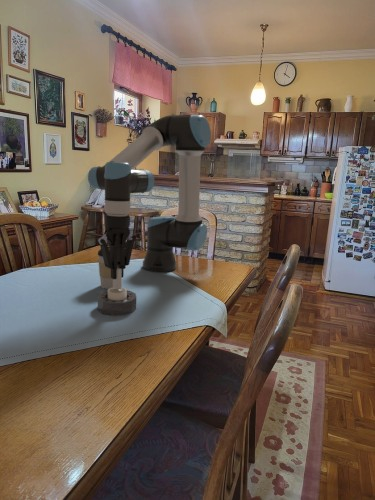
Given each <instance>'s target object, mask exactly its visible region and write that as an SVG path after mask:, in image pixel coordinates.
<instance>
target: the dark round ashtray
mask: <svg viewBox="0 0 375 500" xmlns="http://www.w3.org/2000/svg"><path fill="white" fill-rule="evenodd" d="M135 310H137V293H136V292H133V291H131V290H129V289H127V299H124V300H109V299H108V290H103V291H102V292H100V293H98V294H97V311H98V312H100V313H101V314H102V315H109V316H125V315H128V314H132V313H133V312H134V311H135Z"/></svg>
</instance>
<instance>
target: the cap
mask: <svg viewBox="0 0 375 500" xmlns="http://www.w3.org/2000/svg"><path fill="white" fill-rule="evenodd" d="M127 290H128V289H127V288H125V287H122V288H121V289H118V290H117V289H115V288H114V287H113V288H110V289H107V291H108V299H109V300H124V299H127Z"/></svg>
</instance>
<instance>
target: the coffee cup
mask: <svg viewBox="0 0 375 500" xmlns="http://www.w3.org/2000/svg"><path fill="white" fill-rule="evenodd" d="M108 249H109V253H110V246H109V245H108ZM97 256H98V257H97V258H98V260H97V261H98V271H99V273H98V274H99V279H100V280H99V281H100V286H101V287H100V288H102V289H104V288H105V289H106V290H108V289H110V288H113V279H112V278H111V269H110V268H108V267H106V266H105V264H104V260H103V255H102V251H101V248H100V249H99V250H98V251H97ZM117 267H118V266H117Z"/></svg>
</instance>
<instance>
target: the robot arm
mask: <svg viewBox="0 0 375 500" xmlns="http://www.w3.org/2000/svg"><path fill="white" fill-rule="evenodd" d="M211 130H212V129H211V127H210V124H209V121H208V119H207V117H205V116H204V115H202V114H201V115H200V114H180V115H179V114H177V115H174V114H172V115H166V116H162V117H161V118H159V119H156V120H155V121H153V122H152V123H150V124H148V126H146V127H144V129H142V131H141V135H139V136H138V137H137V138H136V139H135V140H133V141H132V142H131V143H130V144H129V145H127V146H126V147H125V148H123V149H122V150H121V151H120V152H119V153H118V154H116V155H115V156H114V157H113V158H111V159H110V160H109V161H107V162H106V163H105V164H104V165H103V166H101V165H100V166H99V165H98V166H93V167H92V168H90V169H89V170H88V173H87V181H88V183H89V185H90V186H91V188H93V189H96V190H100V191H104V213H106V214H105V215H104V227H105V228H104V229H105V230H104V232H103V235H102V236H101V237H98V238H97V239H96V241H97V243H98V245H99V247H100V249H101V251H102V255H103V260H104V264H105V266H106V267H108V268H110V269H111V278H112V279H113V287H114V288H115V289H117V290H118V289H121V288H123V287H122V284H123V283H122V280H123V279H122V278H124V270H125V269H126V266H130V262H131V257H132V252H133V247H134V243H135V242H136V239H137V235H135V234H132V233H131V229H130V226H131V216H130V215H129V214H131V194H144V193H148V192H150V191H151V190H152V189H153V188H154V186H155V176H154V175H153V173H152V172H151V171H150V170H148V169H144V168H139V169H138V168H137V167H138V166H139V165H140V164H141V163H142V162H144V161H145V160H146V159H147V158H148V157H149V156H150V155H151V154H152V153H153V152H154V151H159V150H160V149H162V148H164V147H174V146H175V152H176V153H177V154H178V208H177V209H178V212H177V213H178V214H177V215H176V216H175V217H174V216H172V215H165V216H164V215H162V216H153V217H150V218H149V219H148V220H147V227H146V229H147V231H146V233H147V235H146V239H147V240H146V242H147V243H146V253H145V256H144V259H143V261H142V268H143V269H144V270H147V271H151V272H159V273H163V272H164V273H165V272H171V271H174V270H176V269H177V261H176V258H175V253H174V249H175V248H176V249H180V250H181V249H182V250H187V251H199V250H200V249H201V248H202V247H204V244H205V242H206V239H207V236H208V228H207V225H206V224H204V223H203V217H202V216H201V215H200V193H201V192H200V187H201V185H200V181H201V161H202V159H201V156H202V154H204V153H205V149H206V147H208V146H209V145H210V143H211V142H210V141H211V139H212V131H211ZM108 246H110V253H109V249H108ZM117 266H118V267H117Z"/></svg>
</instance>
